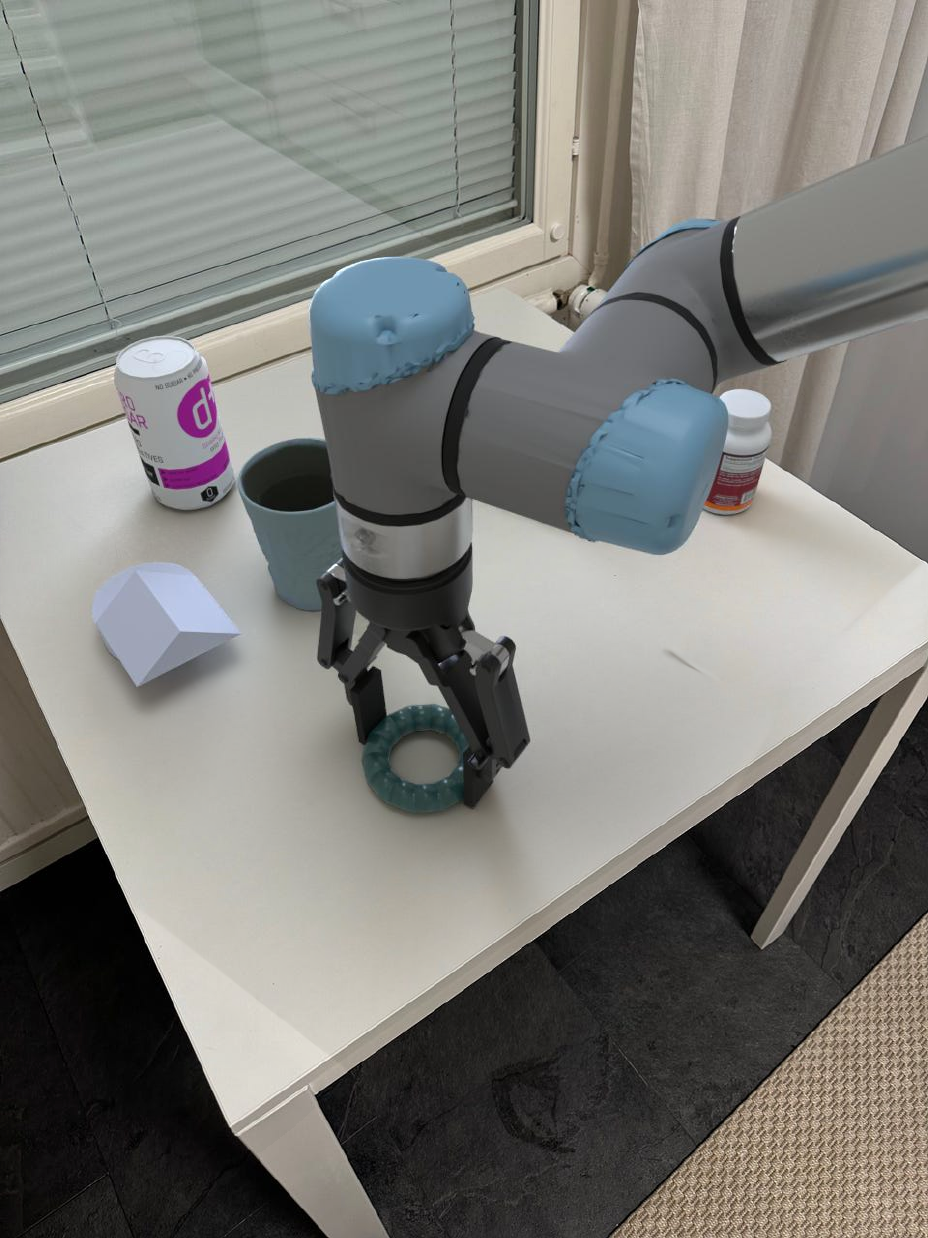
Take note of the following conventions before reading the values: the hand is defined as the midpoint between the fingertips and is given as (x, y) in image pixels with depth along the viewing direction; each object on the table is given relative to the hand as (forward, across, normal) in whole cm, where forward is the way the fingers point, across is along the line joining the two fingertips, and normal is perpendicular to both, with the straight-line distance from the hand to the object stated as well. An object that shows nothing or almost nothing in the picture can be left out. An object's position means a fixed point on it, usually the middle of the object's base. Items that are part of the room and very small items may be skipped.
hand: (424, 761), depth 67 cm
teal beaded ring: (-1, 0, 0) cm, 1 cm away
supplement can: (+1, -39, +14) cm, 41 cm away
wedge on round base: (+1, -26, -2) cm, 26 cm away
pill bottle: (+1, +6, +42) cm, 42 cm away
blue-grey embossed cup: (+1, -20, +11) cm, 23 cm away
